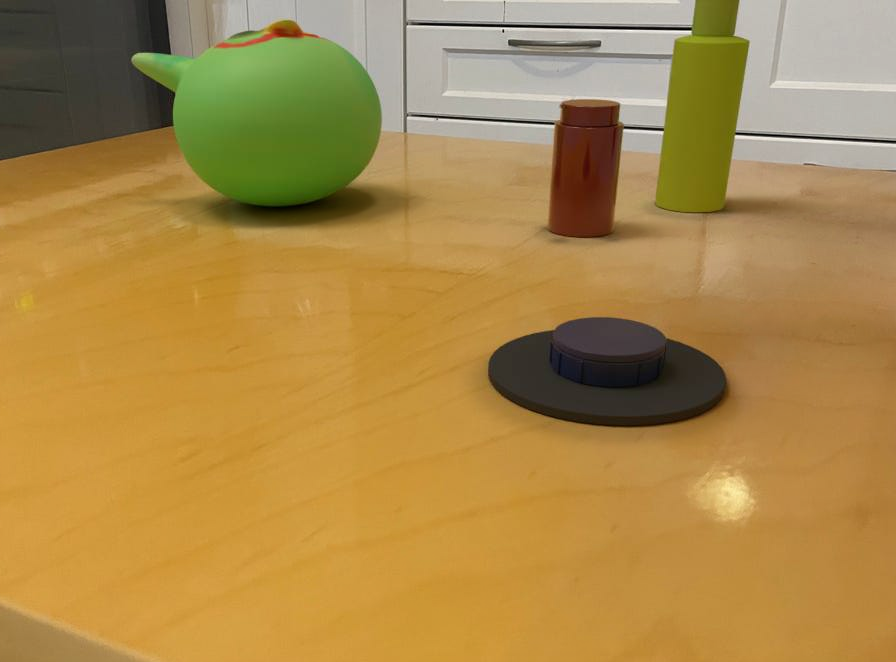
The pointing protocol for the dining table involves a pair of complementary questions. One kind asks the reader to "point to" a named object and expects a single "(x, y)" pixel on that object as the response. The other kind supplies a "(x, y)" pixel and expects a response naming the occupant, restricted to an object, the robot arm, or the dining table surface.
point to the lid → (608, 352)
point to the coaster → (663, 400)
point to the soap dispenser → (702, 110)
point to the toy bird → (272, 114)
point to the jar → (585, 168)
